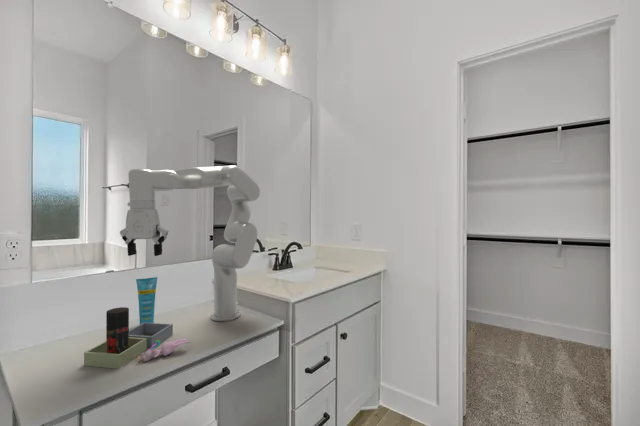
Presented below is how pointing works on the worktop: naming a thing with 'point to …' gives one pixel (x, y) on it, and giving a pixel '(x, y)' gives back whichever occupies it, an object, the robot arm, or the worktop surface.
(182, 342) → the pink toy figurine
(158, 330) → the bin
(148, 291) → the tube
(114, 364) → the bin
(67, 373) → the worktop surface
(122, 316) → the deodorant
